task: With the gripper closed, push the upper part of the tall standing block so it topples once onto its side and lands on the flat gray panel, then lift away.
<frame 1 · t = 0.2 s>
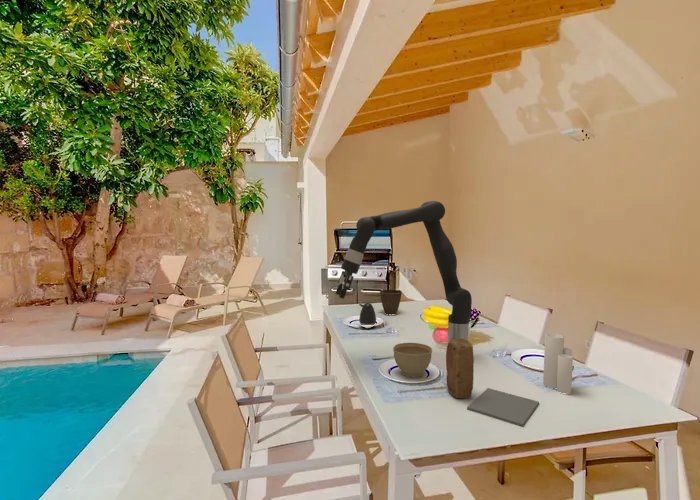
hand: (339, 296, 170), 31 cm above the table, tool tilted 20°, fingers open, 8 cm apart
vase: (558, 388, 151), on the table
plant pot: (390, 314, 271), on the table
flat gray panel: (503, 406, 136), on the table
planter bowl: (412, 373, 165), on the table
block: (458, 393, 146), on the table
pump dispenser: (367, 327, 236), on the table
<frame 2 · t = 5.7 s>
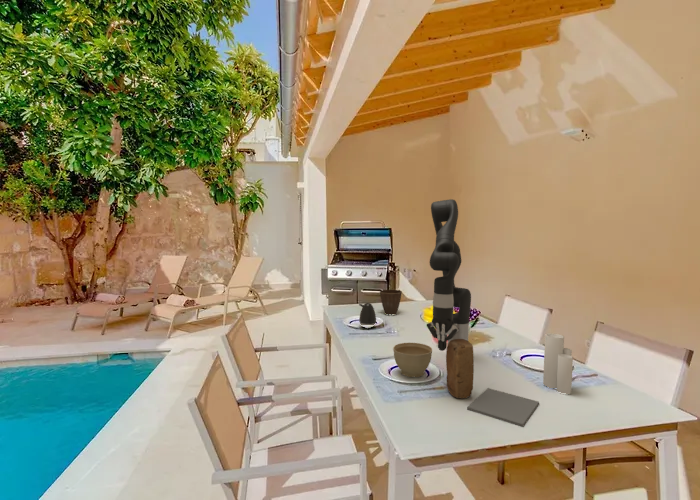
hand: (442, 349, 149), 15 cm above the table, tool pointing down, fingers closed
block: (458, 393, 146), on the table, touching gripper
everything else where it was.
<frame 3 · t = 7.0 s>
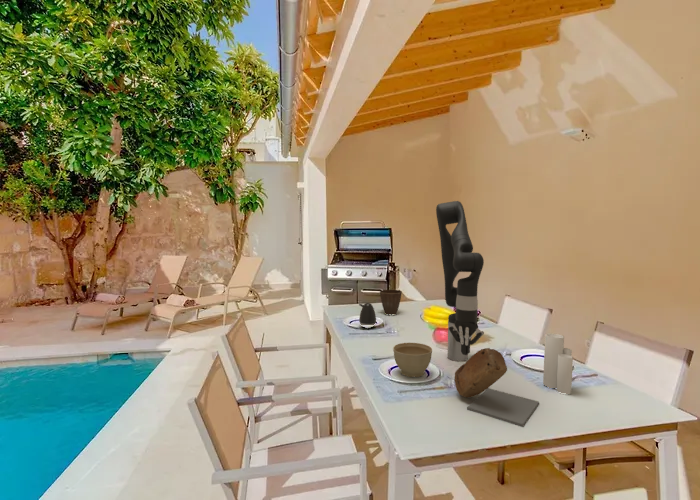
hand: (465, 354, 143), 15 cm above the table, tool pointing down, fingers closed
block: (461, 386, 145), point 3 cm above the table
everything else where it was.
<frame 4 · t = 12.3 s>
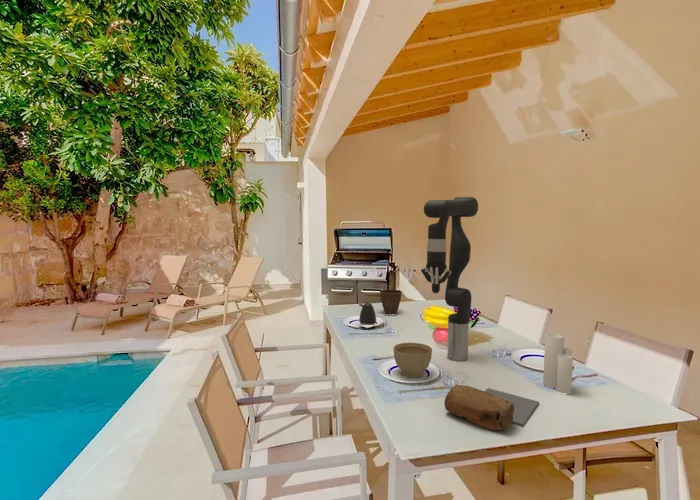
hand: (435, 292, 159), 35 cm above the table, tool pointing down, fingers closed
block: (450, 396, 134), point 4 cm above the table, touching flat gray panel
everything else where it was.
at the end: block tilted 91°; block touching flat gray panel, table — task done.
